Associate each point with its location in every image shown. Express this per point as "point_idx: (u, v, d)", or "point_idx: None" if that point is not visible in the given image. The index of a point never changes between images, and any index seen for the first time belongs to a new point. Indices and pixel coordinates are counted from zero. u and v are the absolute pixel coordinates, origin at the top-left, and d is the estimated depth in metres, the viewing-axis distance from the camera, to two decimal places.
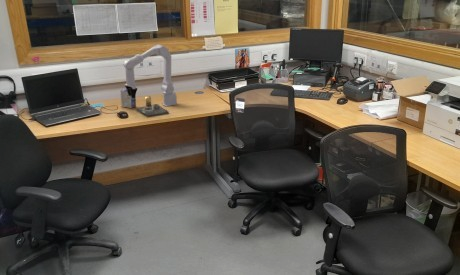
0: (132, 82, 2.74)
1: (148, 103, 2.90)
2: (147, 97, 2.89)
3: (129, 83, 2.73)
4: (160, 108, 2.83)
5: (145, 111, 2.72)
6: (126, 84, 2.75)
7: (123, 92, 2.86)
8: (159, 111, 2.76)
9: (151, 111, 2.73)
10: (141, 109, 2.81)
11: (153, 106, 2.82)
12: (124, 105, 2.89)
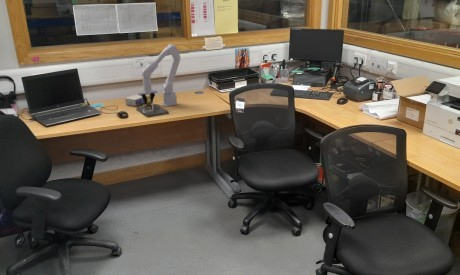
0: (144, 90, 2.87)
1: (148, 103, 2.90)
2: (147, 97, 2.89)
3: None
4: (160, 108, 2.83)
5: (145, 111, 2.72)
6: None
7: (137, 95, 3.01)
8: (159, 111, 2.76)
9: (151, 111, 2.73)
10: (141, 109, 2.81)
11: (153, 106, 2.82)
12: (128, 98, 2.93)
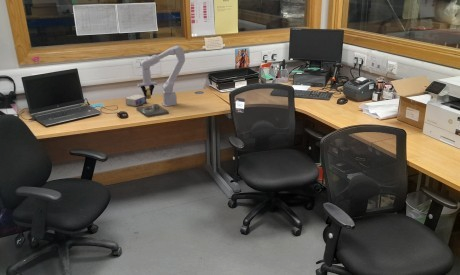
0: (143, 81, 2.84)
1: (147, 95, 2.88)
2: (146, 89, 2.87)
3: None
4: (160, 108, 2.83)
5: (145, 111, 2.72)
6: None
7: (137, 95, 3.01)
8: (159, 111, 2.76)
9: (151, 111, 2.73)
10: (141, 109, 2.81)
11: (153, 106, 2.82)
12: (128, 98, 2.93)
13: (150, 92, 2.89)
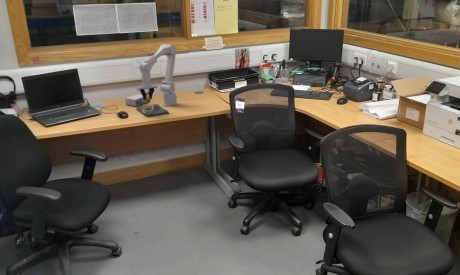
0: (143, 84, 2.72)
1: (147, 99, 2.76)
2: (145, 92, 2.75)
3: None
4: (160, 108, 2.83)
5: (145, 111, 2.72)
6: None
7: (137, 95, 3.01)
8: (159, 111, 2.76)
9: (151, 111, 2.73)
10: (141, 109, 2.81)
11: (153, 106, 2.82)
12: (128, 98, 2.93)
13: (149, 96, 2.77)
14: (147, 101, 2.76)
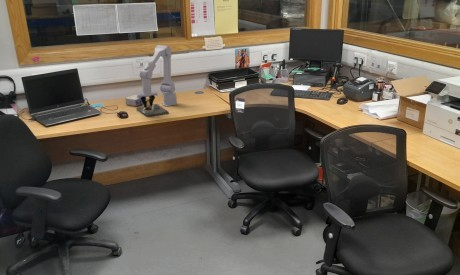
0: (143, 92, 2.69)
1: (147, 106, 2.73)
2: (146, 100, 2.72)
3: None
4: (160, 108, 2.83)
5: (145, 111, 2.72)
6: None
7: None
8: (159, 111, 2.76)
9: (151, 111, 2.73)
10: (141, 109, 2.81)
11: (153, 106, 2.82)
12: (128, 98, 2.93)
13: (150, 103, 2.74)
14: (148, 109, 2.73)
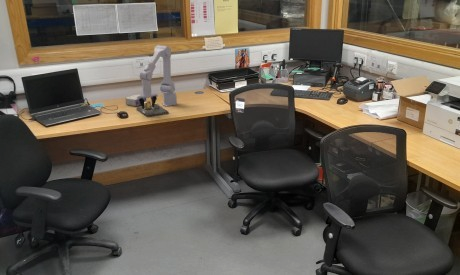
0: (143, 93, 2.69)
1: (147, 108, 2.73)
2: (146, 102, 2.72)
3: None
4: (160, 108, 2.83)
5: (145, 111, 2.72)
6: None
7: (137, 95, 3.01)
8: (159, 111, 2.76)
9: (151, 111, 2.73)
10: (141, 109, 2.81)
11: None
12: (128, 98, 2.93)
13: (150, 105, 2.74)
14: None
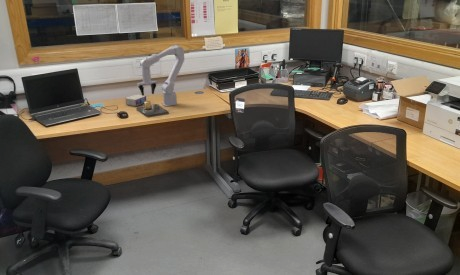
0: (143, 80, 2.81)
1: (147, 108, 2.73)
2: (146, 102, 2.72)
3: None
4: (160, 108, 2.83)
5: (145, 111, 2.72)
6: None
7: (137, 95, 3.01)
8: (159, 111, 2.76)
9: (151, 111, 2.73)
10: (141, 109, 2.81)
11: (153, 106, 2.82)
12: (128, 98, 2.93)
13: (150, 105, 2.74)
14: None
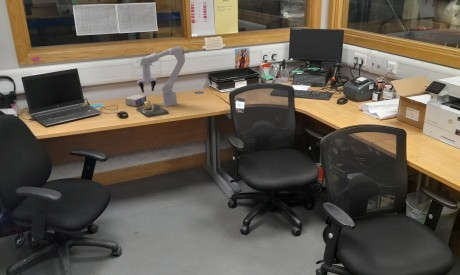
0: (143, 78, 2.89)
1: (147, 108, 2.73)
2: (146, 102, 2.72)
3: None
4: (160, 108, 2.83)
5: (145, 111, 2.72)
6: None
7: (137, 95, 3.01)
8: (159, 111, 2.76)
9: (151, 111, 2.73)
10: (141, 109, 2.81)
11: (153, 106, 2.82)
12: (128, 98, 2.93)
13: (150, 105, 2.74)
14: None
